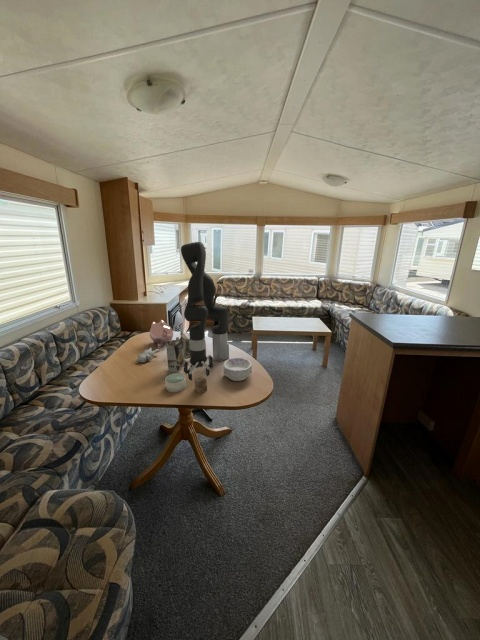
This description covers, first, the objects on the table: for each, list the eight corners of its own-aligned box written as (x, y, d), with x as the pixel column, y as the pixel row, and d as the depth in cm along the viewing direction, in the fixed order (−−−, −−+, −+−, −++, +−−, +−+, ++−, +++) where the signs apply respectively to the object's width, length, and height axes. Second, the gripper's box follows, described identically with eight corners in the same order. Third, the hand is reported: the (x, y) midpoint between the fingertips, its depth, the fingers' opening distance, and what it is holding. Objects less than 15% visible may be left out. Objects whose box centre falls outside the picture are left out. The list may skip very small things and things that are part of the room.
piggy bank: (166, 337, 199) (165, 317, 194) (177, 344, 186) (176, 323, 181) (147, 342, 189) (144, 321, 185) (157, 349, 176) (154, 327, 171)
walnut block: (203, 386, 132) (203, 375, 131) (206, 390, 129) (206, 379, 127) (195, 388, 130) (194, 378, 128) (198, 393, 126) (197, 382, 125)
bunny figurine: (132, 356, 157) (147, 344, 170) (134, 364, 159) (149, 351, 172) (145, 358, 154) (160, 346, 167) (147, 366, 156) (161, 353, 169)
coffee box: (178, 372, 146) (176, 346, 141) (168, 371, 147) (165, 345, 142) (185, 365, 154) (183, 340, 150) (175, 364, 156) (172, 339, 151)
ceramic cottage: (170, 357, 165) (169, 335, 160) (183, 348, 180) (183, 327, 175) (192, 362, 160) (192, 339, 156) (203, 352, 175) (204, 331, 171)
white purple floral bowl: (227, 386, 132) (226, 372, 130) (221, 372, 146) (220, 359, 144) (255, 381, 136) (255, 368, 134) (247, 368, 150) (247, 356, 148)
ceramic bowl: (182, 379, 139) (181, 370, 137) (188, 388, 130) (188, 379, 129) (163, 384, 134) (162, 375, 132) (168, 394, 126) (167, 384, 124)
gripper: (208, 341, 129) (209, 371, 134) (180, 347, 122) (182, 378, 127) (214, 347, 123) (215, 377, 127) (185, 352, 116) (187, 385, 121)
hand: (199, 377), depth 127 cm, fingers open, 8 cm apart
